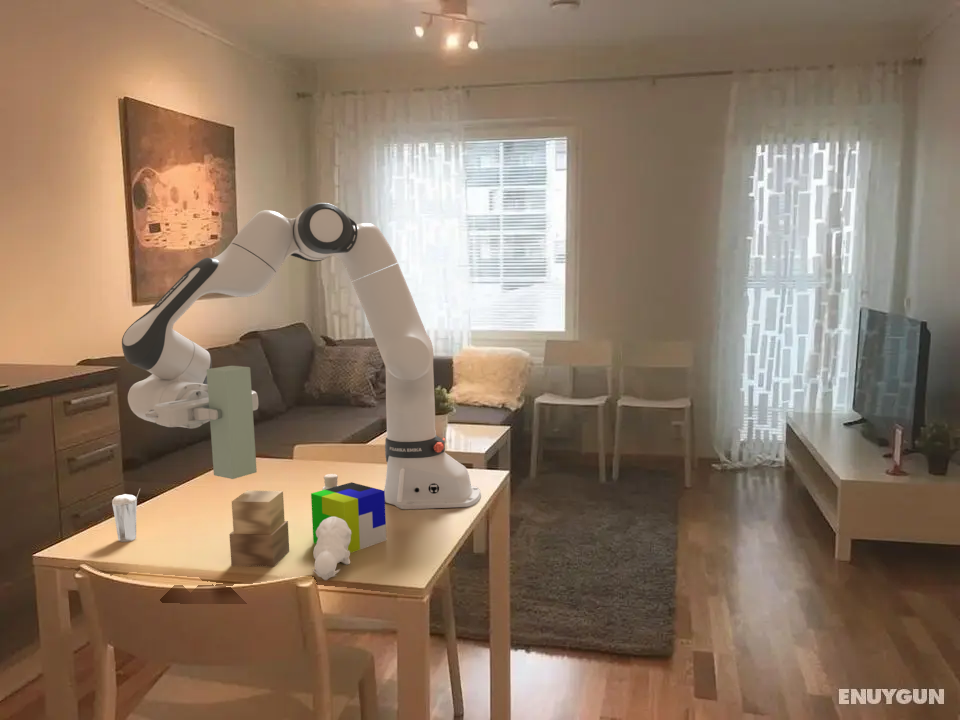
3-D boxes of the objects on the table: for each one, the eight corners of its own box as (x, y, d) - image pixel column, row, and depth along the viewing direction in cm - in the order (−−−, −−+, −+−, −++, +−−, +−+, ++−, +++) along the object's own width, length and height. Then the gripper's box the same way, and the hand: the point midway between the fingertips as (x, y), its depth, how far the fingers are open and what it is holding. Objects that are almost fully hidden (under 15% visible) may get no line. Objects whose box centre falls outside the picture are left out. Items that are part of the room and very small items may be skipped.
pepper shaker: (328, 522, 174) (325, 471, 172) (351, 524, 172) (349, 472, 170) (314, 530, 169) (312, 477, 167) (338, 532, 167) (335, 479, 165)
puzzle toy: (386, 540, 162) (384, 490, 161) (346, 554, 154) (343, 502, 153) (353, 530, 168) (351, 482, 167) (313, 543, 161) (311, 493, 160)
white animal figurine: (351, 512, 151) (340, 540, 139) (354, 555, 153) (343, 587, 141) (317, 513, 151) (302, 541, 139) (320, 556, 153) (306, 588, 141)
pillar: (237, 468, 159) (231, 365, 157) (256, 472, 156) (250, 367, 153) (213, 475, 155) (206, 369, 152) (232, 479, 152) (225, 371, 149)
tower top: (284, 522, 156) (282, 490, 155) (270, 534, 149) (268, 502, 148) (249, 521, 157) (247, 490, 156) (233, 533, 150) (231, 501, 149)
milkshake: (145, 539, 165) (141, 491, 164) (116, 544, 162) (112, 495, 161) (142, 533, 169) (138, 485, 168) (113, 538, 166) (110, 489, 165)
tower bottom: (289, 551, 157) (287, 521, 156) (273, 567, 149) (272, 535, 148) (249, 550, 158) (247, 520, 157) (231, 566, 150) (229, 534, 149)
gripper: (138, 397, 152) (184, 403, 145) (229, 381, 169) (275, 386, 161) (141, 431, 153) (187, 439, 145) (231, 412, 170) (277, 418, 162)
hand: (234, 411), depth 153 cm, fingers closed on pillar, 5 cm apart
